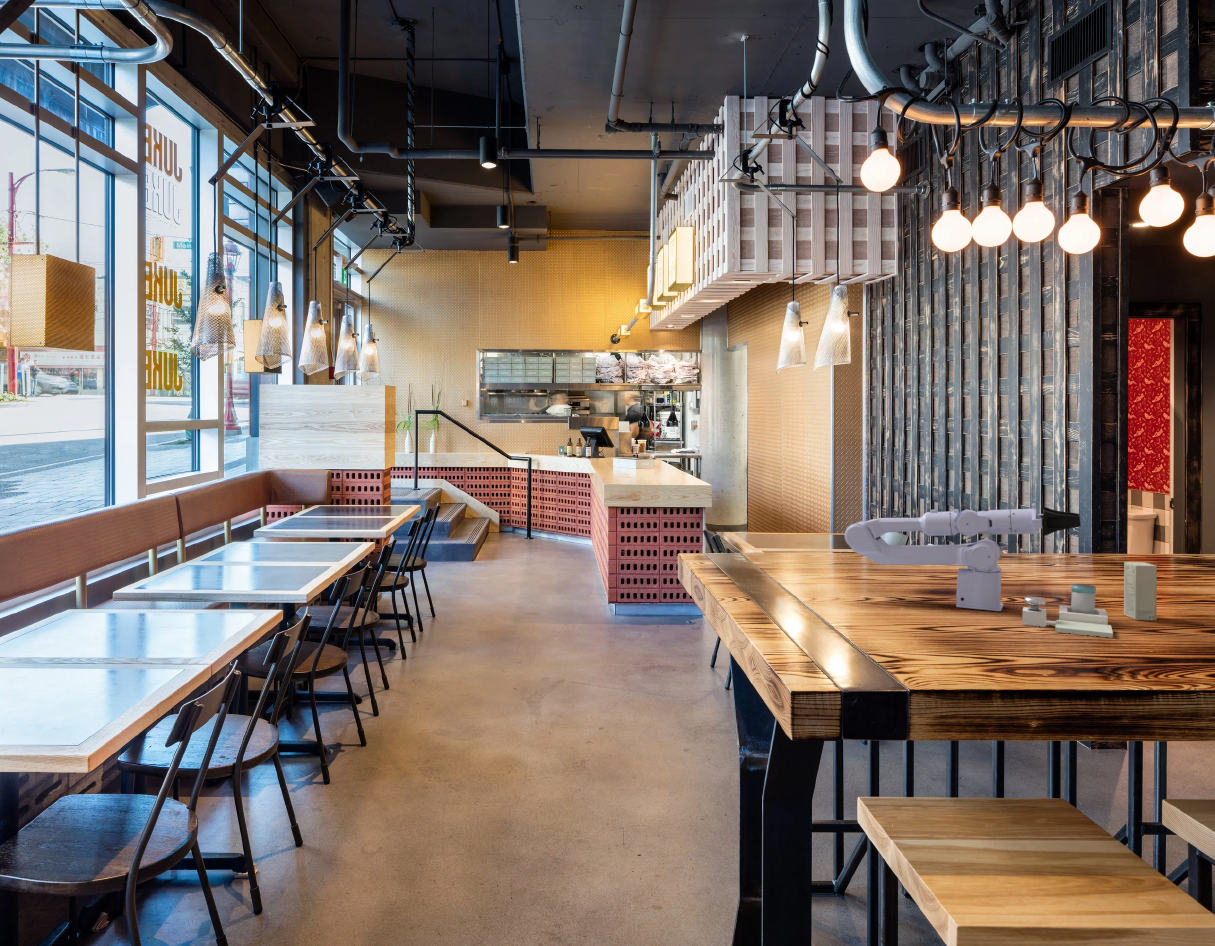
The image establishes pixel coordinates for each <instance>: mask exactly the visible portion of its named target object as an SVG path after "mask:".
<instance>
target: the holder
mask: <svg viewBox="0 0 1215 946" xmlns="http://www.w3.org/2000/svg"><path fill="white" fill-rule="evenodd" d="M1058 615H1059V616H1058V617H1059V618H1058V620H1064V621H1074V622H1084V623H1093V624H1103V625H1109V624H1108V623H1109V622H1108V619H1109V617H1108V613H1107V609H1104V608H1103V609H1102V608H1095V615H1093V614H1083V613H1073V612H1071V605H1060V604H1059V611H1058ZM1021 617H1022V622H1021V624H1022V626H1031V627H1039V626H1040V627H1039V628H1046V627H1047V626H1049V625H1056V620H1047V609H1046V608H1039V611H1030V607H1026V606H1023V608H1022V615H1021Z"/></svg>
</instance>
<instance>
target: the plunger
mask: <svg viewBox="0 0 1215 946" xmlns="http://www.w3.org/2000/svg"><path fill="white" fill-rule="evenodd" d="M1023 601H1024V603H1025V604H1027V605H1030V606H1029V608H1030V611H1039V609H1040V606H1045V605H1046V601H1047V600H1046V598H1044V597H1040V596H1039V597H1038V596H1024V600H1023Z"/></svg>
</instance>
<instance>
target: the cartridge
mask: <svg viewBox="0 0 1215 946" xmlns="http://www.w3.org/2000/svg"><path fill="white" fill-rule="evenodd" d="M1070 592H1071V598H1070V599H1071V600H1070V601H1071V602H1070V606H1071V612H1073V613H1083V614H1093V615H1095V609H1096V593H1097V586H1096V585H1092V584H1085V583H1072V584H1071V585H1070Z"/></svg>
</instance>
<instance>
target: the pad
mask: <svg viewBox="0 0 1215 946" xmlns="http://www.w3.org/2000/svg"><path fill="white" fill-rule="evenodd" d="M1055 621H1056V625H1055V626H1054V627H1055V628H1054V629H1055V631H1054V632H1055V633H1059V632H1062V633H1061V634H1069V633H1070V635H1080V636H1087V635H1089V636H1088V637H1090V636H1091V637H1096V636H1100V637H1099V638H1105V637H1110V638H1109V639H1113V637H1114V631H1113V629H1112V628H1113V627H1112V625H1110V624H1107V625H1103V624H1093V623H1084V622H1074V621H1064V620H1059V619H1055Z"/></svg>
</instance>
